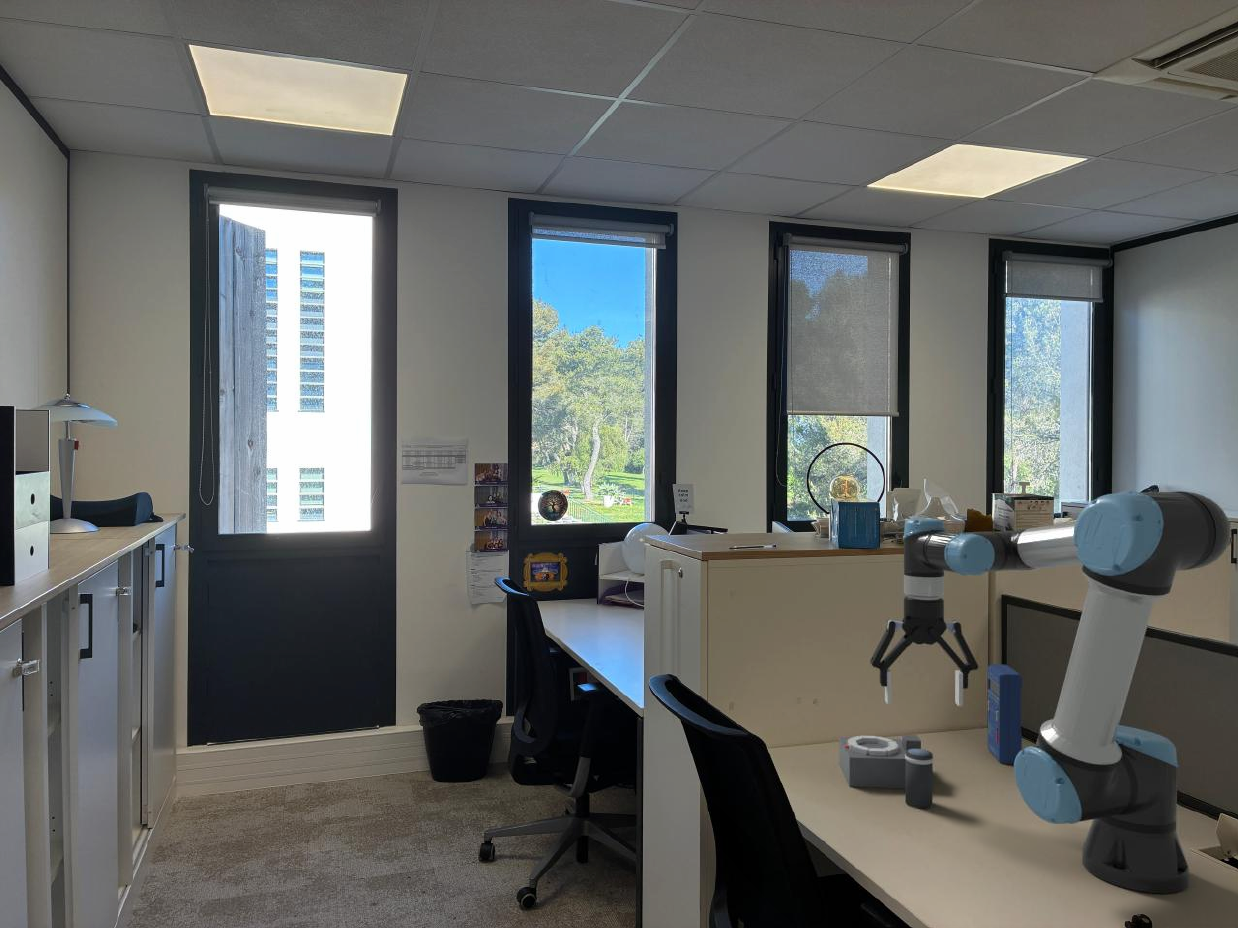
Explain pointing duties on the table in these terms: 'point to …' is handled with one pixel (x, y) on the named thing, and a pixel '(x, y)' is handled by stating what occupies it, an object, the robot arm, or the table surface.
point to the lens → (919, 778)
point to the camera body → (875, 760)
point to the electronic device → (1004, 713)
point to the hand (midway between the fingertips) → (923, 703)
